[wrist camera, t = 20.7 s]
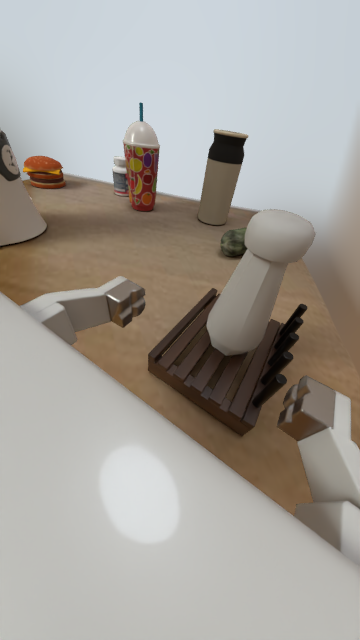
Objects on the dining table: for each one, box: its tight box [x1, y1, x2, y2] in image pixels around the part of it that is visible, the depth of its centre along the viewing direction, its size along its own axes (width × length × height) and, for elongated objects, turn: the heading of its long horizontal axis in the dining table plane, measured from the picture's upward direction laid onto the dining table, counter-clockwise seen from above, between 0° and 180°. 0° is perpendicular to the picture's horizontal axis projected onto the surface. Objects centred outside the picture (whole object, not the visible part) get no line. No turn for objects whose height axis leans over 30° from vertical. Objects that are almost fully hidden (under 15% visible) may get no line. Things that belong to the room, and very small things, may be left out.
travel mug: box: [198, 129, 248, 225], centre depth 49 cm, size 8×8×18 cm
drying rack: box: [148, 288, 307, 436], centre depth 21 cm, size 11×14×7 cm
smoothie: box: [123, 103, 160, 211], centre depth 48 cm, size 8×8×20 cm
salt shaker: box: [206, 210, 315, 356], centre depth 17 cm, size 6×6×13 cm
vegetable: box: [220, 228, 248, 256], centre depth 43 cm, size 14×5×5 cm, turn 124°
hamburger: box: [23, 156, 65, 189], centre depth 58 cm, size 9×10×7 cm
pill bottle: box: [113, 156, 129, 196], centre depth 59 cm, size 5×5×9 cm
